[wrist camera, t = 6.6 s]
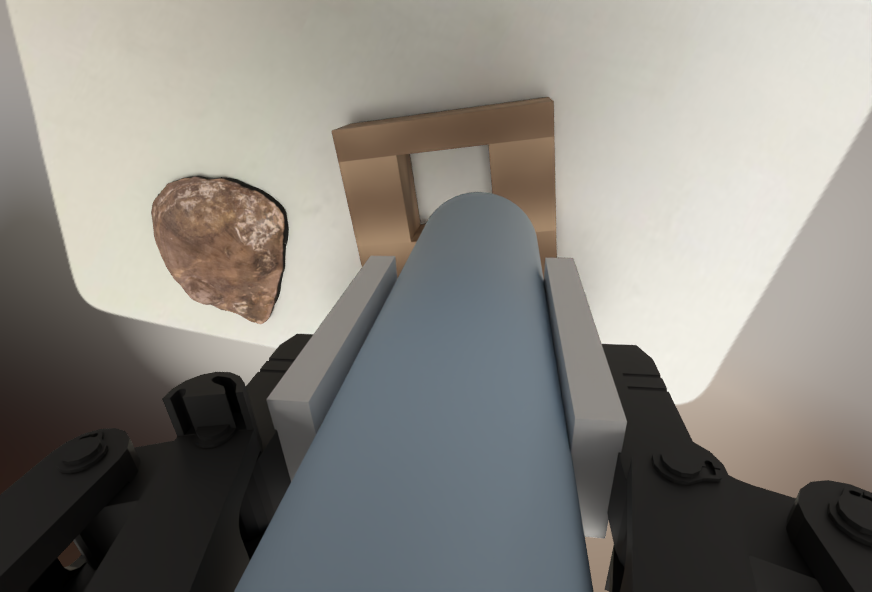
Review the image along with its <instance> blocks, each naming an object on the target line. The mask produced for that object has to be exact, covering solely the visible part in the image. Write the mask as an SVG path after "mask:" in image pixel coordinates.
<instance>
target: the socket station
mask: <svg viewBox="0 0 872 592" xmlns="http://www.w3.org/2000/svg"><path fill="white" fill-rule="evenodd" d="M332 135H333V140H334V144H335V149H336V153H337V158H338V162H339V167H340V171H341V176H342V180H343V184H344V189H345V193H346V198H347V202H348V207H349V211H350V216H351V220H352V225H353V229H354V234H355V238H356V242H357V247H358V251H359V256H360V260H361V265H362V267H363V266H364V264H365V263H366V261H367V260H368V259H369V257H370V256H395V259H396V269H397V279H398V277H399V275H400V273H401V271H402V269H403V267H404V265H405V263H406V261H407V259H408V257H409V256H410V254H411V252H412V250H413V248H414V246H415V244H416V242H417V240H418V238H419V236H420V234H421V233H422V231H423V229H424V227H425V225H426V224H422V225H421V224H420V217H419V211H418V205H417V198H416V192H415V185H414V179H413V172H412V166H411V160H410V154H412V153H420V152H429V151H437V150H445V149H454V148H462V147H471V146H479V145H487V144H489V157H490V169H491V181H492V194H495V195H499V196H502V197H504V198H506V199H508V200H510V201H511V202H513V203H514V204H516V205H517V206H518V207H519V208H520V209H522V210H523V212H524V213H525V214H526V215H527V216H528V218H529V219H530V221H531V223H532V225H533V227H534V229H535V232H536V236H537V242H538V248H539V254H540V260H541V267H542V273H543V279H544V271H545V258H557V250H556V199H555V148H554V101H553V100H552V99H550V98H549V97H544V98H537V99H529V100H522V101H515V102H507V103H500V104H493V105H485V106H478V107H471V108H463V109H456V110H448V111H441V112H434V113H426V114H419V115H412V116H404V117H397V118H390V119H382V120H375V121H367V122H360V123H353V124H349V125H346V126H343V127H341V128H338V129H335V130H332Z"/></svg>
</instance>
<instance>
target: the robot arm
mask: <svg viewBox="0 0 872 592" xmlns="http://www.w3.org/2000/svg"><path fill="white" fill-rule="evenodd" d="M396 280H397V269H396V259H395V256H370V257H369V259H368V260H367V261H366V263H365V264H364V266H363V267H362V268H361V270H360V271H359V272H358V274H357V275H356V277H355V278H354V279H353V281H352V282H351V283H350V285H349V286H348V288H347V289H346V290H345V292H344V293H343V295H342V296H341V297H340V299H339V300H338V301H337V303H336V304H335V306H334V307H333V308H332V310H331V311H330V312H329V314H328V315H327V317H326V318H325V319H324V321H323V322H322V323H321V325H320V326H319V328H318V329H317V330H316V332H315V333H314V334H296V335H295V336H293V337H292V338H290V339H288V340H287V341H285V342H284V343H282V344H281V345H280V346H279V347H278V348H277V349H276V350H275V352H274V353H273V354H272V355H271V357H270V358H269V361H266V363H265V364H264V365H263V366H262V368H261V369H260V372H258V373H257V374H256V375H255V376H254V377H253V379H252V380H251V381H250V382H249V383H248V385H247V386H246V387H245V383H244V382H243V380H242V379H241V377H240V376H238V375H235V374H233V373H230V372H214V373H208V374H203V375H200V376H197V377H194V378H192V379H189V380H187V381H185V382H183V383H182V384H180V385H178V386H176V387H175V388H173V389H172V390H171V391H170V392H169V393H168V394H167V395H166V396H165V397H164V398H163V402H164V404H165V407H166V409H167V412H168V414H169V417H170V419H171V422H172V424H173V427H174V429H175V431H176V434H177V438H176V439H175V441H170V442H164V443H159V444H153V445H147V446H141V447H136V448H134V446H133V444H132V442H131V440H130V438H129V436H128V435H127V433H126V432H125V431H123V430H119V429H116V428H112V429H99V430H96V431H92V432H88V433H85V434H82V435H80V436H78V437H76V438H74V439H72V440H70V441H68V442H66V443H65V444H63V445H62V446H60V447H59V448H58V449H56V450H54V451H53V452H51V453H50V454H49V455H48V456H47V457H45V458H44V459H43V460H42V461H41V462H39V463H38V464H37V465H36V466H34V467H33V468H32V469H31V470H30V471H28V472H27V473H26V474H25V475H24V476H23V477H21V478H20V479H19V480H18V481H16V482H15V483H14V484H13V485H12V486H10V487H9V488H8V489H7V490H6V491H4V492H3V493H2V494H1V495H0V592H234V591H235V589H236V587H237V585H238V583H239V581H240V579H241V577H242V575H243V573H244V572H245V570H246V568H247V566H248V564H249V562H250V560H251V558H252V556H253V554H254V552H255V550H256V549H257V547H258V545H259V543H260V541H261V539H262V537H263V535H264V533H265V531H266V529H267V527H268V526H269V524H270V522H271V520H272V518H273V516H274V514H275V512H276V510H277V508H278V506H279V504H280V503H281V501H282V499H283V497H284V495H285V493H286V491H287V489H288V487H289V485H290V483H291V482H292V480H293V478H294V476H295V474H296V472H297V470H298V468H299V466H300V464H301V462H302V460H303V459H304V457H305V455H306V453H307V451H308V449H309V447H310V445H311V443H312V441H313V439H314V437H315V436H316V434H317V432H318V430H319V428H320V426H321V424H322V422H323V420H324V418H325V416H326V414H327V413H328V411H329V409H330V407H331V405H332V403H333V401H334V399H335V397H336V395H337V393H338V392H339V390H340V388H341V386H342V384H343V382H344V380H345V378H346V376H347V374H348V372H349V370H350V369H351V367H352V365H353V363H354V361H355V359H356V357H357V355H358V353H359V351H360V349H361V347H362V346H363V344H364V342H365V340H366V338H367V336H368V334H369V332H370V330H371V328H372V326H373V324H374V323H375V321H376V319H377V317H378V315H379V313H380V311H381V309H382V307H383V305H384V303H385V302H386V300H387V298H388V296H389V294H390V292H391V290H392V288H393V286H394V284H395V282H396ZM544 286H545V293H546V299H547V305H548V311H549V318H550V324H551V330H552V337H553V343H554V349H555V356H556V362H557V368H558V375H559V381H560V387H561V393H562V400H563V406H564V412H565V419H566V425H567V431H568V438H569V444H570V450H571V455H572V461H573V467H574V473H575V479H576V486H577V492H578V498H579V504H580V511H581V517H582V523H583V529H584V536H585V537H597V538H605V536H606V531H607V525H608V520H609V523H610V528H611V532H612V537H613V541H614V547H613V551H612V556H611V561H610V566H609V572H608V576H607V581H606V586H605V590H607V591H609V592H872V493H870V492H868V491H865V490H863V489H861V488H858V487H855V486H853V485H850V484H845V483H840V482H834V481H829V480H828V481H816V482H810V483H809V484H807V485H806V486H804V487H803V488H801V489H800V491H799V493H798V496H797V498H792V497H789V496H786V495H783V494H779V493H776V492H773V491H769V490H766V489H763V488H760V487H756V486H753V485H750V484H748V483H745V482H742V481H740V480H737V479H735V478H733V477H731V476H729V475H728V473H727V471H726V469H725V467H724V465H723V464H722V463H721V462H720V461H719V460H718V459H717V458H716V457H715V456H714V455H713V454H712V453H710V451H708V450H706V449H704V448H702V447H701V446H699V445H697V444H696V443H694V442H693V441H692V439H691V437H690V435H689V433H688V431H687V429H686V427H685V425H684V423H683V421H682V419H681V416H680V414H679V412H678V410H677V408H676V406H675V404H674V402H673V400H672V398H671V396H670V394H669V392H667V388H666V386H665V383H664V381H663V379H662V378H660V373H659V371H658V369H657V367H656V365H655V363H654V361H653V359H652V358H651V357H650V356H648V355H647V354H646V353H645V352H644V351H642V350H641V349H640V348H639V347H638V346H636V345H615V344H601V341H600V338H599V335H598V332H597V329H596V326H595V323H594V320H593V317H592V314H591V311H590V308H589V305H588V302H587V298H586V295H585V292H584V289H583V286H582V283H581V280H580V277H579V274H578V271H577V268H576V265H575V262H574V259H573V258H545V271H544ZM72 541H74V543H75V544H76V546H77V547H78V549H79V551H80V552H81V554H82V555H81V556H80V557H79V558H78V559H77V560H76V561H75V562H73V563H72V564H71V565H70V566H68V567H63V566H62V564H61V563H60V561H59V560H58V558H57V557H58V556H59V555H60V554H61V553H62V552H63V551H64V550H65V549H66V548H67V547H68V546H69V544H70V543H71V542H72Z"/></svg>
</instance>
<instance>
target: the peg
mask: <svg viewBox="0 0 872 592" xmlns="http://www.w3.org/2000/svg"><path fill="white" fill-rule="evenodd" d="M234 592H593V586H592V581H591V573H590V567H589V561H588V555H587V549H586V543H585V536H584V529H583V523H582V517H581V511H580V504H579V498H578V492H577V486H576V479H575V473H574V467H573V461H572V455H571V450H570V444H569V438H568V431H567V425H566V419H565V412H564V406H563V400H562V393H561V387H560V381H559V375H558V368H557V362H556V356H555V349H554V343H553V337H552V330H551V324H550V318H549V311H548V305H547V299H546V293H545V286H544V279H543V273H542V267H541V260H540V254H539V248H538V242H537V236H536V232H535V229H534V227H533V225H532V223H531V221H530V219H529V218H528V216H527V215H526V214H525V213H524V212H523V210H522V209H520V208H519V207H518V206H517V205H516V204H514V203H513V202H511V201H510V200H508V199H506V198H504V197H502V196H499V195H495V194H491V193H484V192H473V193H466V194H462V195H459V196H456V197H454V198H452V199H450V200H448V201H446V202H445V203H443V204H442V205H441V206H440V207H439V208H437V209H436V210H435V211H434V213H433V214H432V215H431V216H430V218H429V220H428V221H427V223H426V225H425V227H424V229H423V231H422V233H421V234H420V236H419V238H418V240H417V242H416V244H415V246H414V248H413V250H412V252H411V254H410V256H409V257H408V259H407V261H406V263H405V265H404V267H403V269H402V271H401V273H400V275H399V277H398V279H397V280H396V282H395V284H394V286H393V288H392V290H391V292H390V294H389V296H388V298H387V300H386V302H385V303H384V305H383V307H382V309H381V311H380V313H379V315H378V317H377V319H376V321H375V323H374V324H373V326H372V328H371V330H370V332H369V334H368V336H367V338H366V340H365V342H364V344H363V346H362V347H361V349H360V351H359V353H358V355H357V357H356V359H355V361H354V363H353V365H352V367H351V369H350V370H349V372H348V374H347V376H346V378H345V380H344V382H343V384H342V386H341V388H340V390H339V392H338V393H337V395H336V397H335V399H334V401H333V403H332V405H331V407H330V409H329V411H328V413H327V414H326V416H325V418H324V420H323V422H322V424H321V426H320V428H319V430H318V432H317V434H316V436H315V437H314V439H313V441H312V443H311V445H310V447H309V449H308V451H307V453H306V455H305V457H304V459H303V460H302V462H301V464H300V466H299V468H298V470H297V472H296V474H295V476H294V478H293V480H292V482H291V483H290V485H289V487H288V489H287V491H286V493H285V495H284V497H283V499H282V501H281V503H280V504H279V506H278V508H277V510H276V512H275V514H274V516H273V518H272V520H271V522H270V524H269V526H268V527H267V529H266V531H265V533H264V535H263V537H262V539H261V541H260V543H259V545H258V547H257V549H256V550H255V552H254V554H253V556H252V558H251V560H250V562H249V564H248V566H247V568H246V570H245V572H244V573H243V575H242V577H241V579H240V581H239V583H238V585H237V587H236V589H235V591H234Z"/></svg>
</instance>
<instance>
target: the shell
mask: <svg viewBox="0 0 872 592" xmlns="http://www.w3.org/2000/svg"><path fill="white" fill-rule="evenodd" d="M151 214H152V220H153V229H154V237H155V241H156V244H157V247H158V249H159V251H160V254H161V256H162V258H163V260H164V262H165V265H166V267H167V269H168V270H169V272H170V273H171V275H172V276H173V278H174V279H175V280H176V281H177V282H178V283H179V284H180V285H181V286H182V288H183V289H184V290H185V292H186V293H187V294H188V295H189V297H190V298H191V299H193V300H195V301H197V302H199V303H202V304H205V305H213V306H215V307H217V308H219V309H221V310H225V311H230V312H233V313H237V314H239V315H241V316H242V317H244V318H246V319H247V320H249V321H251V322H256V323H258V324H263V323H264V322H266V321H267V320H268V318H269V317H270V315H271V313H272V311H273V305H274V304H275V303H276V301H277V299H278V297H279V294H280V289H281V282H282V277H283V272H284V269H285V252H286V245H283V243H286V244H287V241H288V230H289V228H288V221H287V215H286V212H285V210H284V208H283V207H282V205H281V204H280V203H279V202H278V201H277V200H275V199H274V198H272V196H270V195H269V194H267V193H265V192H264V191H262V190H260V189H258V188H255V187H252V186H250V185H248V184H245V183H243V182H241V181H238V180H236V179H232V178H222V177H221V179H220V178H219V179H208V178H205V177H200V176H194V177H187V178H183V179H180V180H178V181H174V182H172V183H168V184H167V185H166V187H165V188H164V189H163V190H162V191H161V193H160V194H158V196H157V198H155V200H154V202H153V205H152V211H151Z"/></svg>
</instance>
